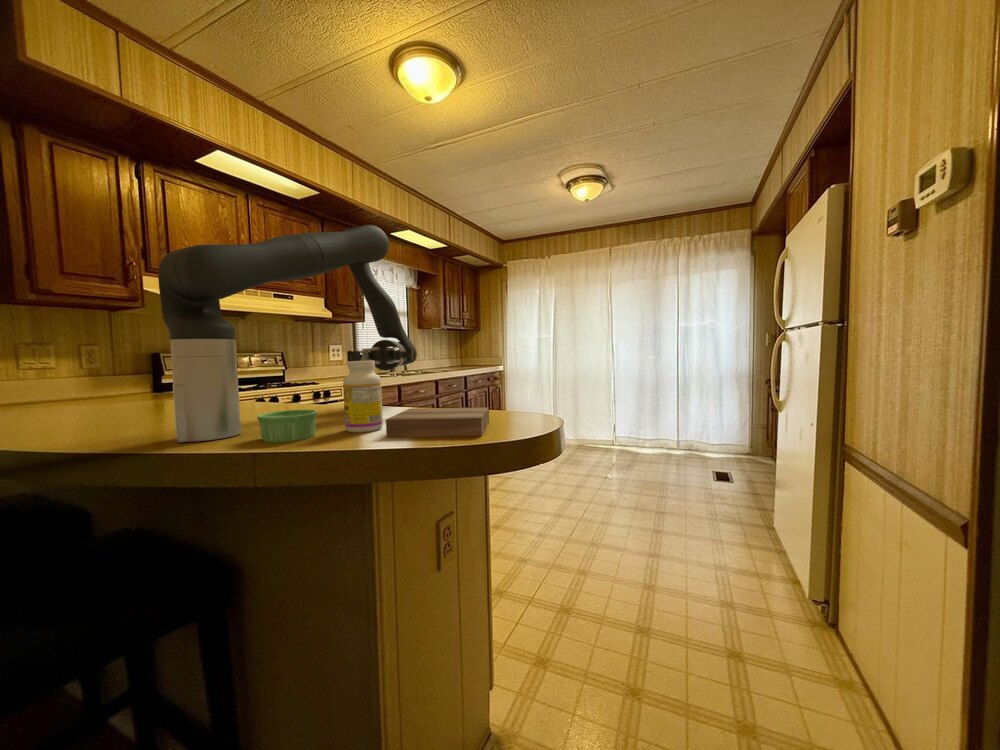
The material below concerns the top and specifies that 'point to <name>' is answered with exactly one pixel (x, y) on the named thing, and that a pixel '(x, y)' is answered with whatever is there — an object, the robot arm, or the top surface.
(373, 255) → the robot arm
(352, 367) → the supplement bottle
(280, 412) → the ramekin
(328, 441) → the top surface
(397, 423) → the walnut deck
